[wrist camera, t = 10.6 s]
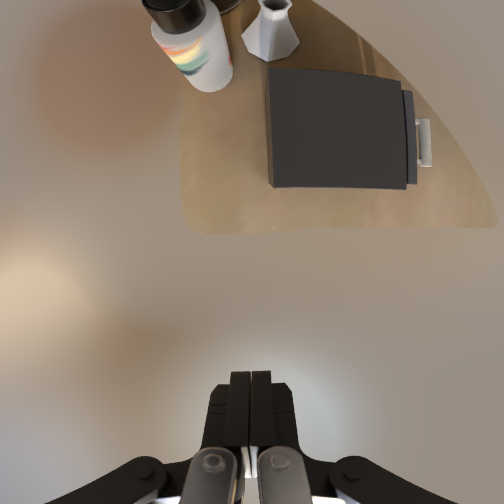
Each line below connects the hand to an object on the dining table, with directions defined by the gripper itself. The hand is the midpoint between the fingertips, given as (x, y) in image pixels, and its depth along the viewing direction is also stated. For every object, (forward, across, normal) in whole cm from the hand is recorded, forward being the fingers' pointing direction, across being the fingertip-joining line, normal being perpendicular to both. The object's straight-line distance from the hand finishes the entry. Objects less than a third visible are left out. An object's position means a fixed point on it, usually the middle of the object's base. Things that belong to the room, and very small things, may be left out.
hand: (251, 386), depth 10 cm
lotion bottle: (+27, +4, -21) cm, 35 cm away
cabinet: (+27, -9, -12) cm, 31 cm away
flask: (+27, -3, -26) cm, 38 cm away
